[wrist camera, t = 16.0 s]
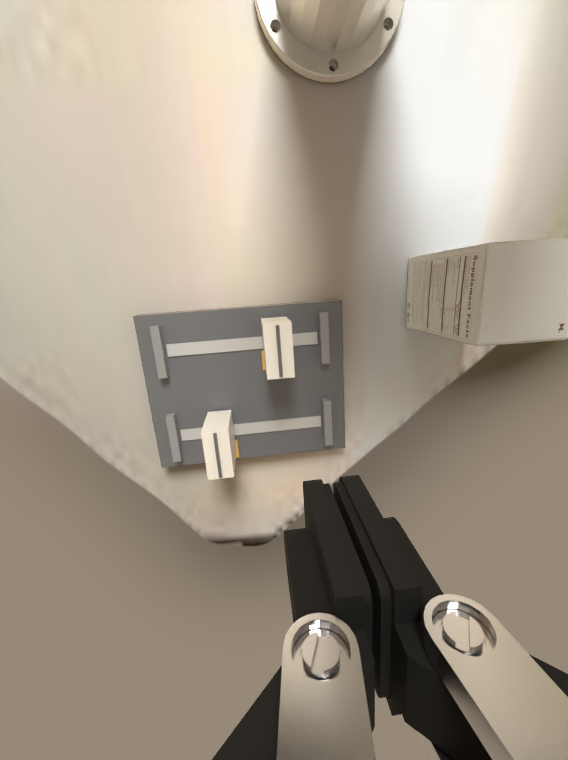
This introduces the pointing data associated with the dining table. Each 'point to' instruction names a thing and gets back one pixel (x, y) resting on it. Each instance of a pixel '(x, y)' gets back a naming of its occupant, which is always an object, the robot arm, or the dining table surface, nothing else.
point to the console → (243, 379)
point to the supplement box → (491, 292)
